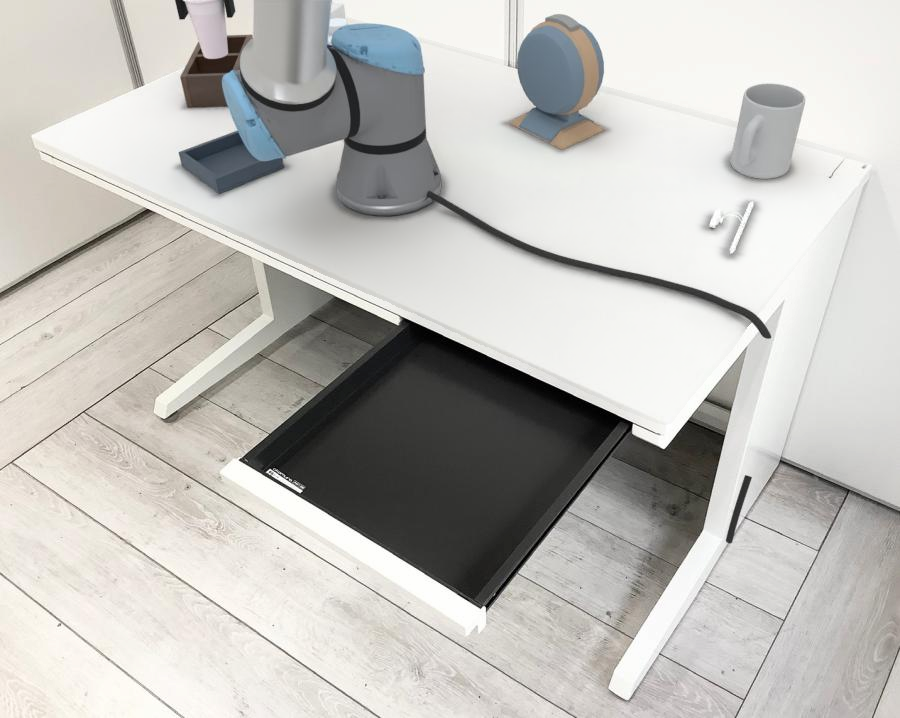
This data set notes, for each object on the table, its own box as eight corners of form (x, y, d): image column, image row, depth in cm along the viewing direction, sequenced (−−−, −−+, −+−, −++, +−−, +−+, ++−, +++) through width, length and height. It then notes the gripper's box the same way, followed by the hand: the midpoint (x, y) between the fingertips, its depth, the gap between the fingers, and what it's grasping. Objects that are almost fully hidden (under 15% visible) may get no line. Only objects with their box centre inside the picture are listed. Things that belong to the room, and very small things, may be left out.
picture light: (733, 256, 115) (736, 242, 114) (699, 249, 117) (702, 235, 115) (754, 204, 125) (757, 191, 123) (723, 198, 126) (725, 185, 125)
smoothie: (242, 46, 138) (223, -49, 129) (229, 62, 133) (210, -36, 124) (202, 46, 139) (181, -49, 130) (188, 62, 134) (166, -36, 125)
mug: (745, 146, 138) (759, 77, 130) (798, 162, 133) (816, 92, 126) (709, 177, 131) (722, 107, 123) (764, 195, 126) (780, 123, 119)
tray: (284, 167, 136) (281, 153, 135) (218, 194, 131) (215, 179, 129) (245, 142, 143) (242, 128, 141) (181, 166, 138) (178, 152, 136)
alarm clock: (609, 132, 142) (620, 21, 131) (566, 152, 138) (573, 38, 126) (547, 103, 151) (552, -3, 139) (504, 121, 146) (506, 12, 135)
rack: (241, 105, 153) (236, 74, 150) (187, 107, 154) (179, 76, 150) (257, 63, 167) (252, 34, 163) (207, 65, 167) (200, 36, 164)
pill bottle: (323, 68, 165) (317, 19, 159) (350, 62, 166) (345, 14, 160) (333, 78, 161) (327, 29, 155) (360, 72, 163) (355, 24, 157)
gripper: (248, -170, 120) (276, 4, 135) (106, -164, 121) (149, 9, 135) (238, -159, 114) (268, 21, 129) (89, -153, 115) (136, 26, 130)
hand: (207, 15), depth 132 cm, fingers closed on smoothie, 6 cm apart
